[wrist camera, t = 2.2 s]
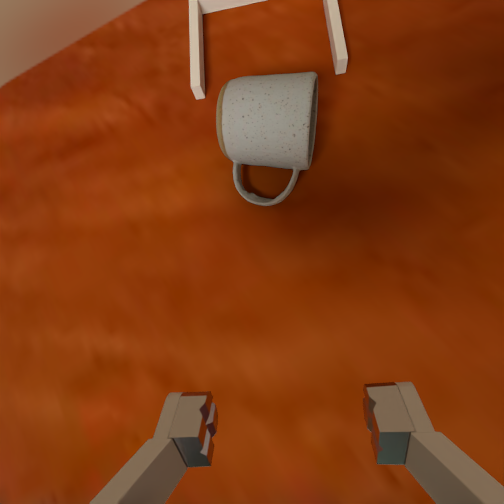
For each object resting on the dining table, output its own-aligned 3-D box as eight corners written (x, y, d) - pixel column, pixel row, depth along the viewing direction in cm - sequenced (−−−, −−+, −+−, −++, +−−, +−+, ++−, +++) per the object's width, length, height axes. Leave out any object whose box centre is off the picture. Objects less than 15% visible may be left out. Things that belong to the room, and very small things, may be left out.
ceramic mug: (239, 113, 32) (220, 51, 25) (317, 114, 31) (322, 49, 24) (223, 207, 30) (197, 169, 23) (306, 213, 29) (308, 175, 21)
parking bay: (328, -20, 35) (330, -39, 33) (345, 72, 32) (348, 58, 30) (194, 9, 37) (188, -6, 35) (196, 99, 34) (190, 87, 32)
